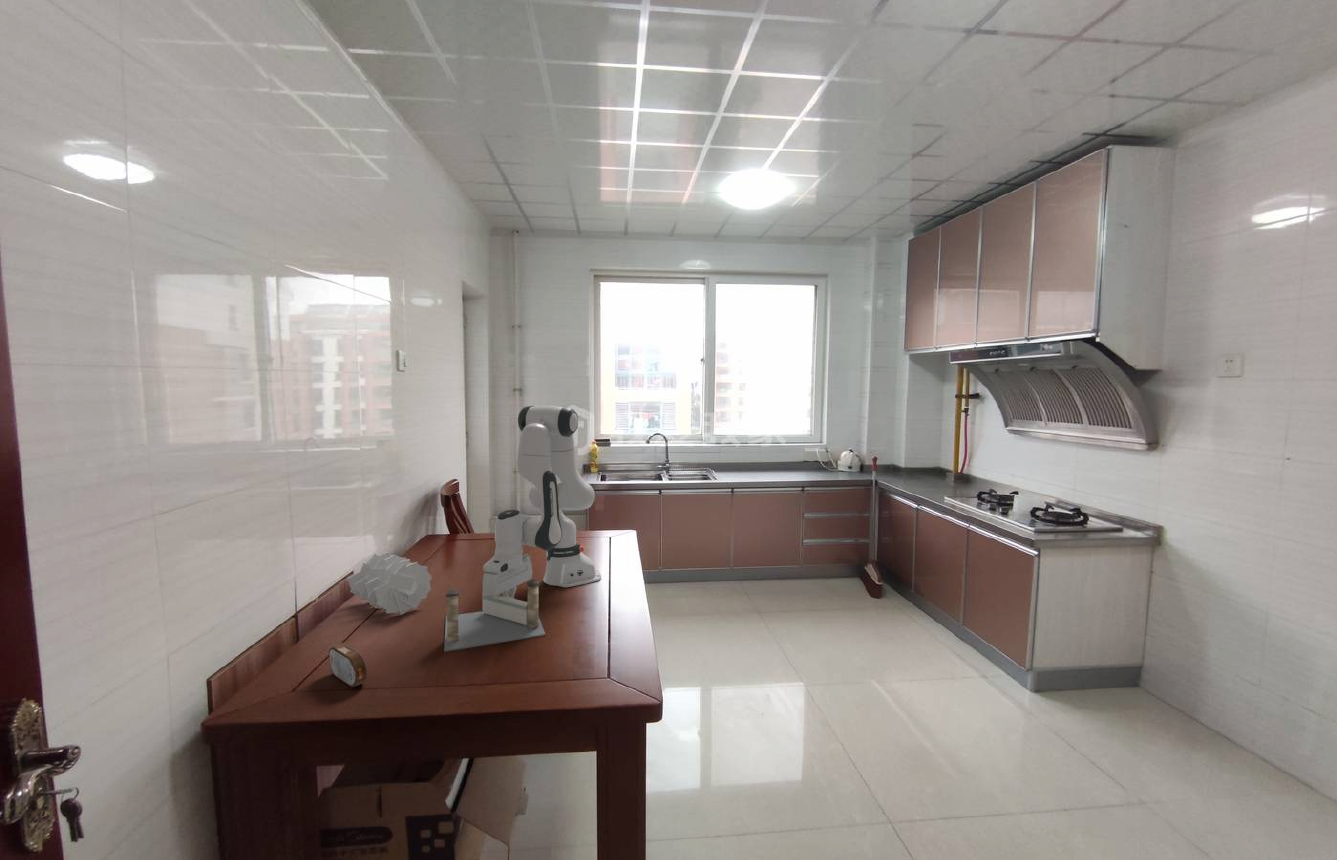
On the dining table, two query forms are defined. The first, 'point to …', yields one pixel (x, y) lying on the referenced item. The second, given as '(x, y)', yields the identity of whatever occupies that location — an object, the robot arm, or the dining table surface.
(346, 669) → the tin
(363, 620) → the dining table surface
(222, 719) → the dining table surface
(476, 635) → the mat
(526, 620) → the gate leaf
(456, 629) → the gate posts
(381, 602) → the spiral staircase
